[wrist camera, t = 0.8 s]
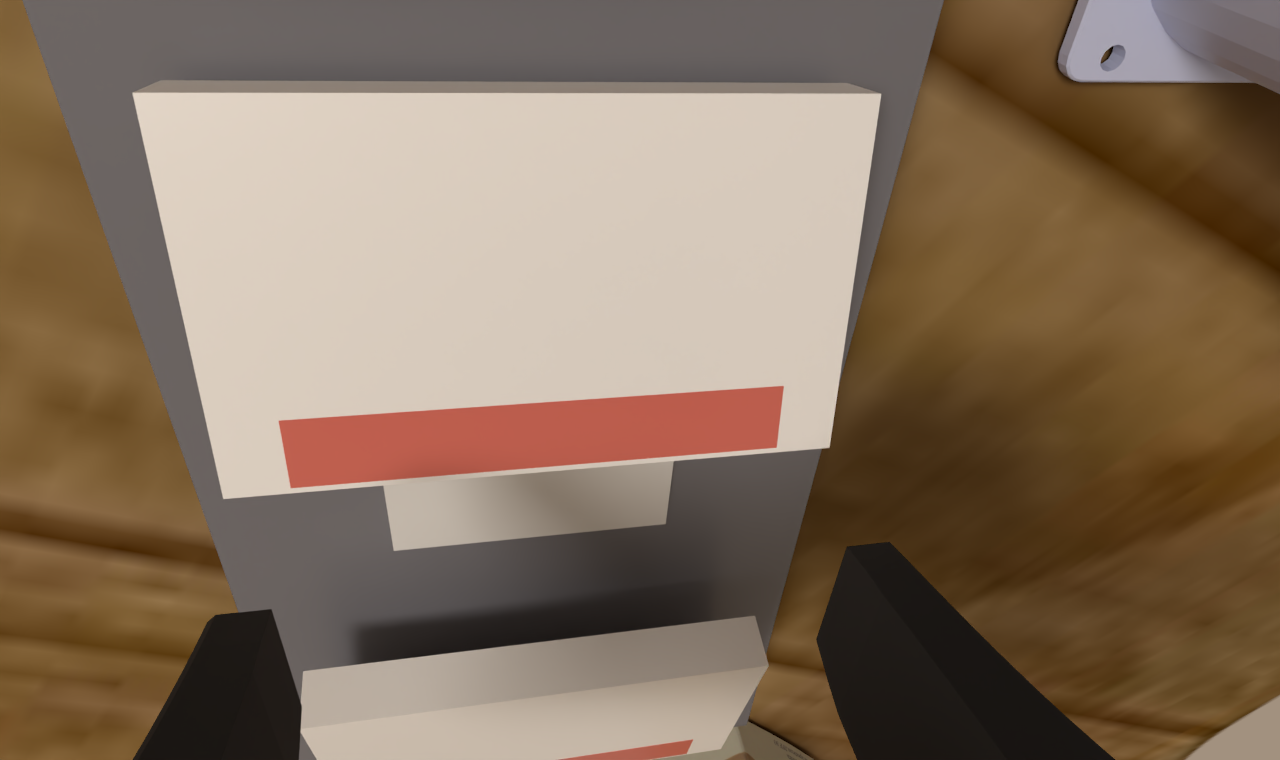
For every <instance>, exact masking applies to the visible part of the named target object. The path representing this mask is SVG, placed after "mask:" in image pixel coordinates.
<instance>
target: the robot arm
mask: <svg viewBox="0 0 1280 760" xmlns="http://www.w3.org/2000/svg"><path fill="white" fill-rule="evenodd" d="M1112 46H1113V52H1112V54H1111V55H1110V57H1109V58H1108V59H1107V60H1106V61H1105V62H1103V63H1102V64H1100V63H1101V58H1102V56H1103V55H1104V53H1105V51H1107V50H1108V49H1109V48H1110V47H1112ZM1058 66H1059V70H1060V71H1061V72H1062V73H1063V74H1064V75H1065V76H1067V77H1068V78H1070V79H1072V80H1074V81H1078V82H1186V83H1257V84H1259V85H1261V86H1263V87H1265V88H1267V89H1270V90H1272V91H1274V92H1276V93H1278V94H1280V0H1078V3H1077V5H1076V8H1075V11H1074V14H1073V16H1072V19H1071V22H1070V25H1069V27H1068V30H1067V33H1066V36H1065V38H1064V41H1063V44H1062V47H1061V49H1060V52H1059V57H1058ZM816 640H817V644H818V647H819V651H820V654H821V658H822V661H823V665H824V668H825V672H826V676H827V679H828V682H829V686H830V689H831V692H832V695H833V699H834V702H835V705H836V708H837V712H838V715H839V717H840V719H841V722H842V724H843V727H844V729H845V732H846V734H847V736H848V739H849V741H850V743H851V746H852V748H853V751H854V753H855V755H856V758H857V760H1115V759H1114V758H1113V757H1111V756H1110V755H1109V754H1108V753H1107V752H1106V751H1104V750H1103V749H1102V748H1101V747H1100V746H1099V745H1098V744H1096V743H1095V742H1094V741H1093V740H1092V739H1091V738H1090V737H1089V736H1087V735H1086V734H1085V733H1084V732H1083V731H1082V730H1081V729H1079V728H1078V727H1077V726H1076V725H1075V724H1074V723H1073V722H1072V721H1070V720H1069V719H1068V718H1067V717H1066V716H1065V715H1064V714H1063V713H1062V712H1060V711H1059V710H1058V709H1057V708H1056V707H1055V706H1054V705H1053V704H1052V703H1051V702H1050V701H1049V700H1047V699H1046V698H1045V697H1044V696H1043V695H1042V694H1041V693H1040V692H1039V691H1038V690H1037V689H1036V688H1035V687H1034V686H1033V685H1031V684H1030V683H1029V682H1028V681H1027V680H1026V679H1025V678H1024V677H1023V676H1022V675H1021V674H1020V673H1019V672H1018V671H1017V670H1016V669H1015V668H1014V667H1013V666H1012V665H1011V664H1010V663H1009V662H1008V661H1007V660H1006V659H1005V658H1003V657H1002V656H1001V655H1000V654H999V653H998V652H997V651H996V650H995V649H994V648H993V647H992V646H991V645H990V644H989V643H988V642H987V641H986V640H985V639H984V638H983V637H982V636H981V635H980V634H979V633H978V632H977V631H976V630H975V629H974V628H973V627H972V626H971V625H970V624H969V623H968V622H967V621H966V620H965V619H964V618H963V617H962V616H961V615H960V614H959V613H958V612H957V611H956V610H955V609H954V608H953V607H952V606H951V605H950V604H949V603H948V602H947V600H946V599H945V598H944V597H943V596H942V595H941V594H940V593H939V592H938V591H937V590H936V589H935V588H934V587H933V586H932V585H931V584H930V583H929V582H928V581H927V580H926V579H925V578H924V577H923V576H922V575H921V574H920V573H919V572H918V571H917V570H916V569H915V568H914V567H913V566H912V565H911V563H910V562H909V561H908V560H907V559H906V558H905V557H904V556H903V555H902V554H901V553H900V552H899V551H898V550H897V549H896V548H895V547H894V546H893V545H892V544H891V543H890V542H886V543H876V544H867V545H858V546H849V547H847V548H846V551H845V554H844V557H843V560H842V563H841V566H840V569H839V572H838V575H837V578H836V582H835V585H834V588H833V591H832V594H831V597H830V600H829V603H828V606H827V609H826V612H825V615H824V618H823V621H822V624H821V627H820V630H819V633H818V636H817V639H816ZM301 714H302V705H301V702H300V699H299V696H298V692H297V689H296V686H295V683H294V679H293V676H292V673H291V670H290V667H289V663H288V660H287V657H286V654H285V651H284V647H283V644H282V641H281V638H280V635H279V631H278V628H277V625H276V622H275V619H274V615H273V612H272V609H267V610H258V611H249V612H239V613H230V614H221V615H215V616H214V617H213V618H212V619H211V620H210V621H208V622H207V624H206V626H205V628H204V630H203V632H202V634H201V636H200V638H199V640H198V642H197V644H196V646H195V648H194V650H193V652H192V654H191V656H190V658H189V660H188V662H187V664H186V666H185V668H184V669H183V671H182V673H181V675H180V677H179V679H178V681H177V683H176V685H175V686H174V688H173V690H172V692H171V694H170V696H169V697H168V699H167V701H166V703H165V705H164V706H163V708H162V710H161V712H160V713H159V715H158V717H157V719H156V721H155V722H154V724H153V726H152V728H151V729H150V731H149V733H148V735H147V736H146V738H145V740H144V742H143V743H142V745H141V747H140V748H139V750H138V752H137V753H136V755H135V757H134V758H133V760H299V750H300V732H301Z"/></svg>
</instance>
